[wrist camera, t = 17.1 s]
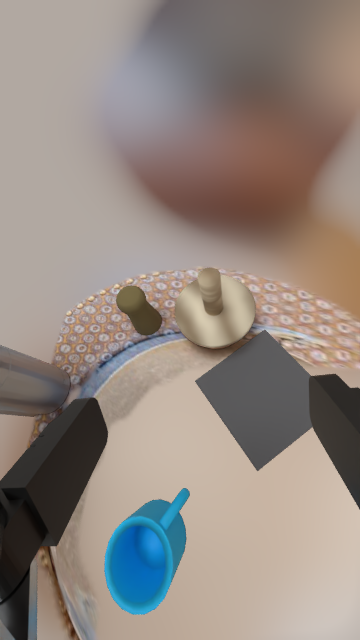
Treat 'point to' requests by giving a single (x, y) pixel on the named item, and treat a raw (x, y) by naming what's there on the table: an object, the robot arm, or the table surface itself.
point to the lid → (215, 310)
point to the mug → (146, 554)
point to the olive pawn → (139, 310)
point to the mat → (260, 397)
